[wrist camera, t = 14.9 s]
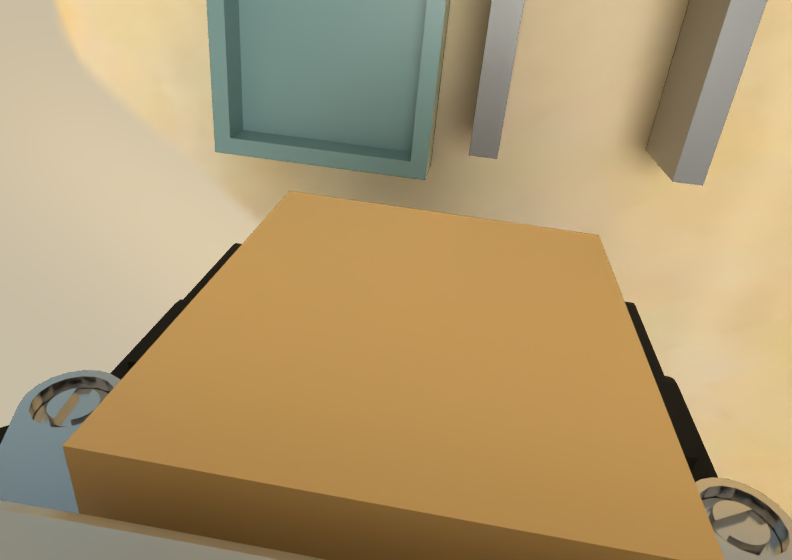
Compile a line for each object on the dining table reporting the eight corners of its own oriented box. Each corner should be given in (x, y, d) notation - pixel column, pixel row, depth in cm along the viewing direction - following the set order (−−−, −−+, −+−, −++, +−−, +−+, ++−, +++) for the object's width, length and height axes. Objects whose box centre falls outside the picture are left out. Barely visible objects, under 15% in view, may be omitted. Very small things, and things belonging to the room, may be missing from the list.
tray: (430, 165, 30) (425, 180, 28) (235, 139, 32) (215, 151, 29) (467, -142, 24) (463, -153, 22) (222, -161, 25) (196, -174, 23)
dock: (671, 153, 28) (702, 185, 24) (473, 128, 29) (468, 155, 25) (756, -120, 23) (817, -142, 19) (513, -139, 24) (516, -165, 20)
